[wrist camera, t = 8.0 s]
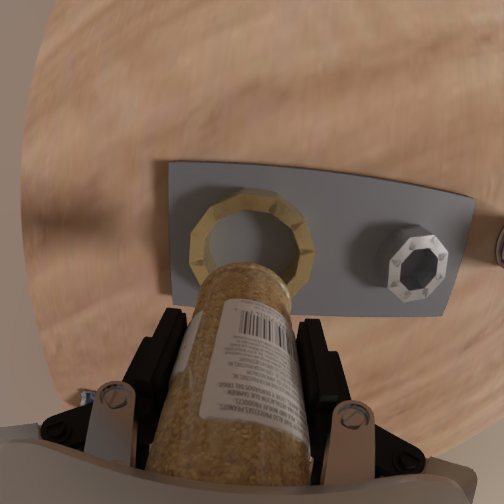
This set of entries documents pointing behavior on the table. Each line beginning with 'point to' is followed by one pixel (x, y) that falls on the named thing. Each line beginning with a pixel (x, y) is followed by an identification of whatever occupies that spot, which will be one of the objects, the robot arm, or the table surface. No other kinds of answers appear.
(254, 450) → the sprinkles bottle
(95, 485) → the robot arm
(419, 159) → the table surface
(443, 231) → the mounting board
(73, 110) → the table surface
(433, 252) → the steel collar
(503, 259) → the pill bottle
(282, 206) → the brass collar
